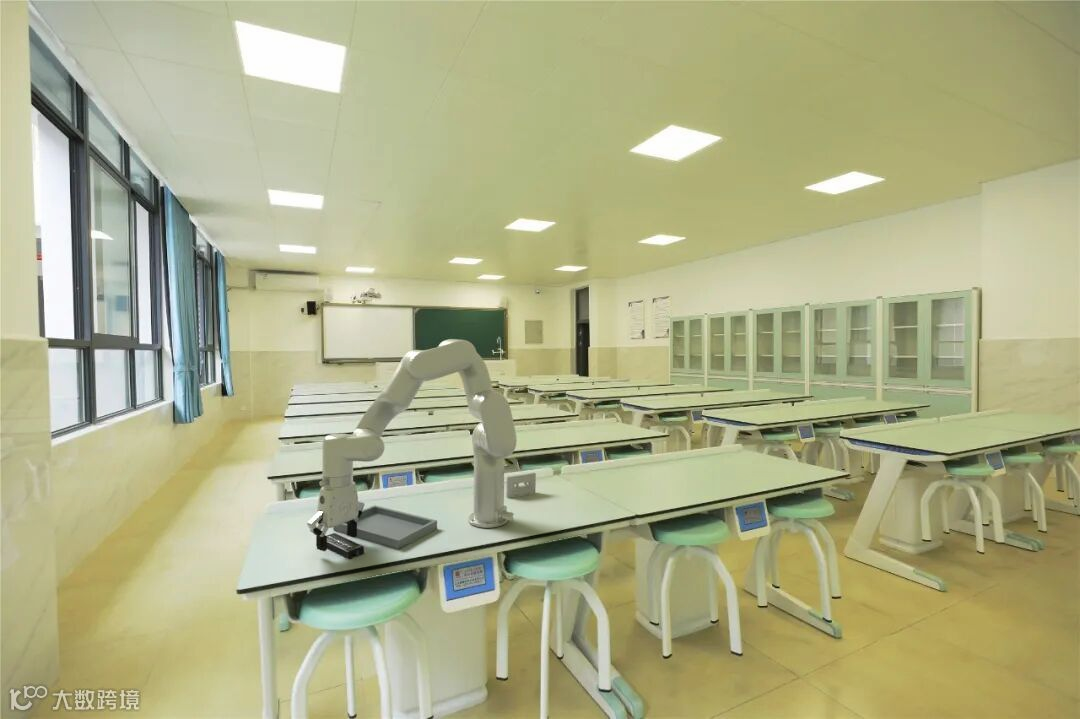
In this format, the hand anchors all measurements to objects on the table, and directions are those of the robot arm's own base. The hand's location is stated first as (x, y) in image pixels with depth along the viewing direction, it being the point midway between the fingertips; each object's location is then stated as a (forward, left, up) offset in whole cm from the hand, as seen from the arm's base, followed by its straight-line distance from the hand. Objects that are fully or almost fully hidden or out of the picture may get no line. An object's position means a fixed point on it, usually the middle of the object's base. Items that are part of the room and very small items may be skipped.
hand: (337, 542), depth 126 cm
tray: (-1, -16, -2) cm, 16 cm away
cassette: (-21, -63, -2) cm, 67 cm away
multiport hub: (0, -1, -3) cm, 3 cm away
